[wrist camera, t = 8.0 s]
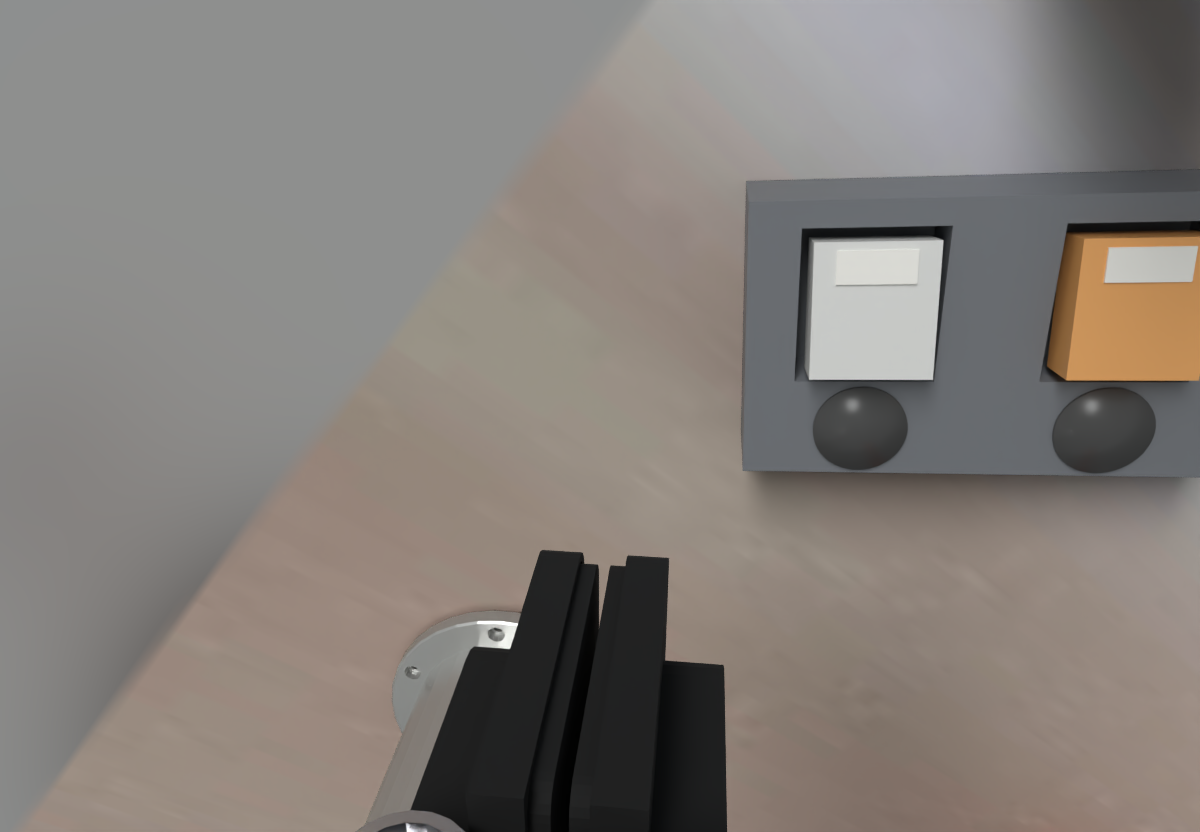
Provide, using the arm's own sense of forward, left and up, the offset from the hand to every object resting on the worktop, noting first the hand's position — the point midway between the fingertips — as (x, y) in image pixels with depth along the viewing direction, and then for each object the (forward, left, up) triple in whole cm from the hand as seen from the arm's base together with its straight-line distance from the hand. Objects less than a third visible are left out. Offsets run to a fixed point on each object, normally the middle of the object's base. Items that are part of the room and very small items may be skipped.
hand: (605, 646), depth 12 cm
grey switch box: (-5, -12, -27) cm, 30 cm away
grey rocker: (-4, -7, -23) cm, 25 cm away
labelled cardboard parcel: (-4, -16, -23) cm, 29 cm away
